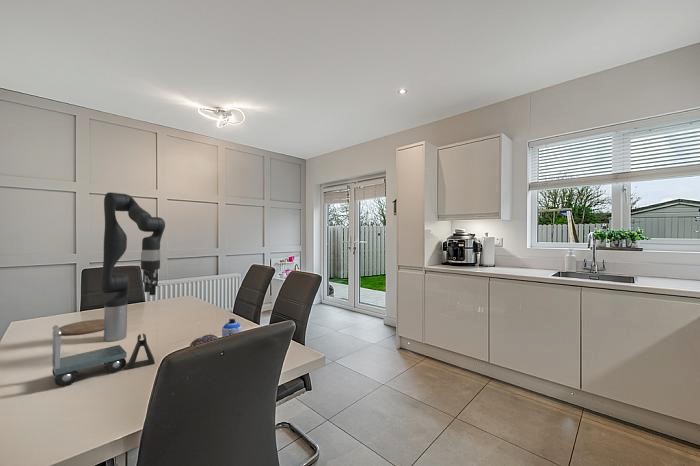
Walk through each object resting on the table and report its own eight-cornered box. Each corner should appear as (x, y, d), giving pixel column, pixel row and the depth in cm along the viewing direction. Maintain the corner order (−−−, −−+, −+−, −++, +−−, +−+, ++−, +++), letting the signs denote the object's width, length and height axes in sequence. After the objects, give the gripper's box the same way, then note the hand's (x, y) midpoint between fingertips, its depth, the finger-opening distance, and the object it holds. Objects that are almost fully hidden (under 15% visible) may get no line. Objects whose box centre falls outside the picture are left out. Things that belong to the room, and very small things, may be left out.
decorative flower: (172, 345, 117) (203, 324, 130) (173, 366, 121) (203, 344, 134) (199, 360, 112) (228, 337, 126) (200, 382, 117) (228, 357, 130)
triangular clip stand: (127, 369, 116) (128, 339, 116) (127, 364, 121) (128, 335, 121) (154, 364, 121) (155, 335, 121) (153, 359, 126) (154, 331, 126)
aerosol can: (216, 370, 116) (217, 320, 116) (231, 362, 124) (231, 315, 124) (231, 373, 113) (232, 322, 114) (245, 365, 121) (246, 317, 121)
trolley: (51, 378, 108) (52, 325, 108) (119, 361, 123) (120, 314, 124) (54, 390, 100) (55, 333, 100) (126, 370, 115) (127, 320, 116)
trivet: (122, 327, 169) (122, 323, 169) (64, 339, 148) (64, 336, 148) (106, 319, 183) (106, 316, 183) (50, 330, 162) (50, 327, 162)
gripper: (137, 258, 138) (136, 292, 138) (145, 261, 129) (144, 297, 129) (155, 257, 144) (154, 290, 144) (164, 260, 134) (163, 295, 134)
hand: (149, 293), depth 136 cm, fingers open, 8 cm apart
